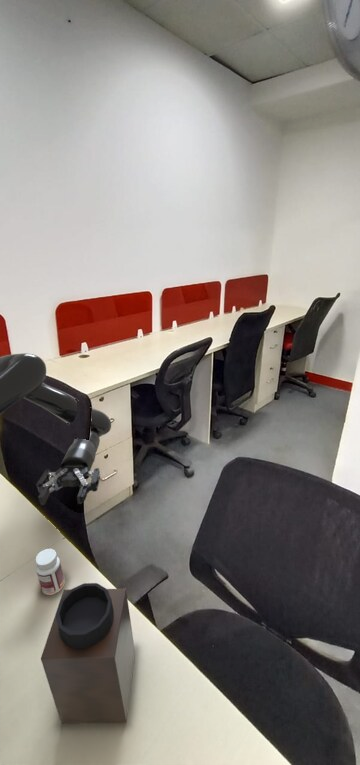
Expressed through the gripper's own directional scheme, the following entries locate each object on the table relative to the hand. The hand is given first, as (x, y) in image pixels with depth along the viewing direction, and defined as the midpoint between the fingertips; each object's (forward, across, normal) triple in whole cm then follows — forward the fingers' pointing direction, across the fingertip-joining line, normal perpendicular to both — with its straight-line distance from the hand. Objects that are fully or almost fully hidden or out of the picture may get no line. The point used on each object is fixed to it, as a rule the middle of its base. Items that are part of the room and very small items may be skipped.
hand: (60, 501), depth 81 cm
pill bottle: (+11, 0, +12) cm, 17 cm away
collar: (+29, +14, -4) cm, 33 cm away
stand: (+29, +14, +12) cm, 35 cm away
